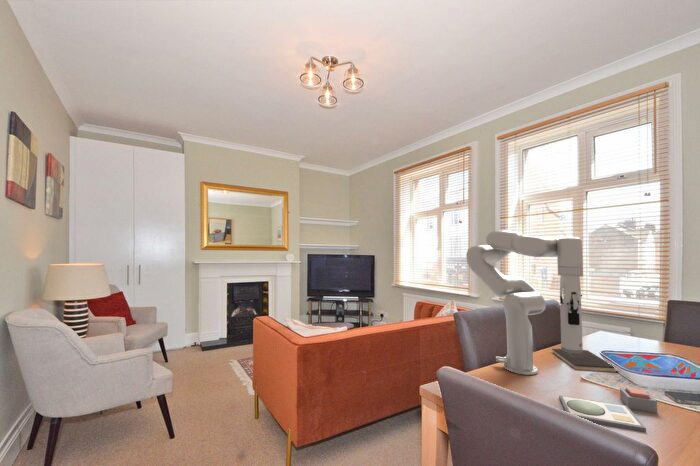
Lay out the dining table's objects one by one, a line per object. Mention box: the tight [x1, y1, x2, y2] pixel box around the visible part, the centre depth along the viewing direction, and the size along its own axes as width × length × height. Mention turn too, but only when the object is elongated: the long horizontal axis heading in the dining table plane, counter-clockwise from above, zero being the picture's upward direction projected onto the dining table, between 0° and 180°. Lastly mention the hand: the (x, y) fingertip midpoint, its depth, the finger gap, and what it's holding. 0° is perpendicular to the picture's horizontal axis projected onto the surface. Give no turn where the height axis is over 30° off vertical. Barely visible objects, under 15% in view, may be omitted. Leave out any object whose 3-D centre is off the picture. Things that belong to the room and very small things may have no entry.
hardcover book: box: [551, 348, 617, 373], centre depth 144 cm, size 16×23×2 cm
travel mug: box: [559, 294, 584, 354], centre depth 115 cm, size 6×7×20 cm
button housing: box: [619, 387, 658, 413], centre depth 103 cm, size 7×7×4 cm
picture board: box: [558, 395, 647, 433], centre depth 98 cm, size 18×14×1 cm
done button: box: [625, 386, 649, 399], centre depth 103 cm, size 4×4×2 cm
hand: (571, 321), depth 115 cm, fingers closed on travel mug, 6 cm apart
